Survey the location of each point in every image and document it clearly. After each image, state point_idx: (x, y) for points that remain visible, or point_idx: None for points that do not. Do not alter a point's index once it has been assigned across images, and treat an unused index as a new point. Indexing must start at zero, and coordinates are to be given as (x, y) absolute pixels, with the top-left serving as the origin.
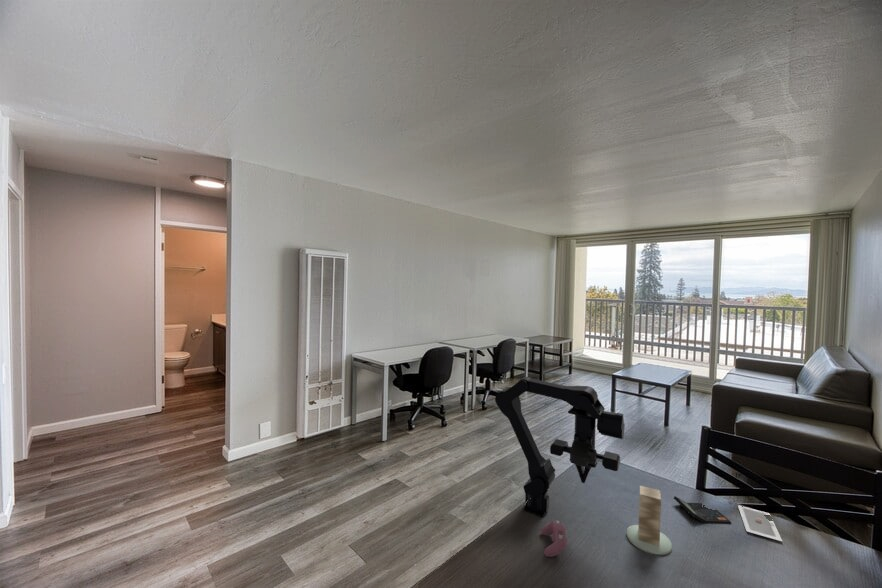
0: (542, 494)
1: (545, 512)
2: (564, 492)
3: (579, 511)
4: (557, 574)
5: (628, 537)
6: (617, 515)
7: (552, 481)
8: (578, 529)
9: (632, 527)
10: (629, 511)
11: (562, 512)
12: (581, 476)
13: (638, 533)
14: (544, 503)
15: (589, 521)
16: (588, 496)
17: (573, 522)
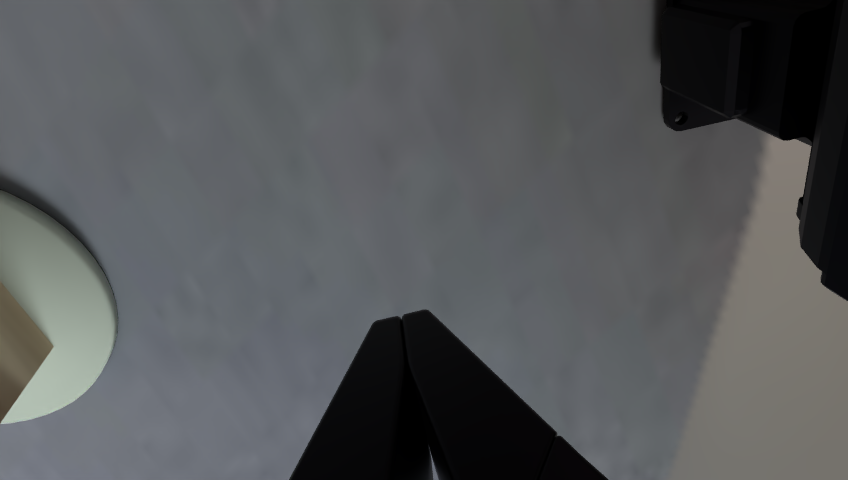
0: (821, 7)
1: (669, 8)
2: (618, 358)
3: (458, 249)
4: None
5: (41, 221)
6: (253, 389)
7: (833, 167)
8: (367, 33)
9: (91, 338)
10: (226, 467)
11: (553, 145)
12: (443, 381)
13: (10, 303)
14: (729, 8)
15: (352, 197)
16: None
17: (437, 91)
